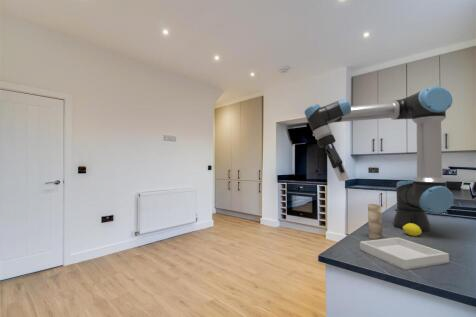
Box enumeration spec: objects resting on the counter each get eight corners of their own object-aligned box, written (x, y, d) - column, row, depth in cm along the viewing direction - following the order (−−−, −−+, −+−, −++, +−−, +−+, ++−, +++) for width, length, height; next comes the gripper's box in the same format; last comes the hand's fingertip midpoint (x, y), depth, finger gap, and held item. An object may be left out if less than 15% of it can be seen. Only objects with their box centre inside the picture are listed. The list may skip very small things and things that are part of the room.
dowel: (375, 235, 107) (374, 203, 108) (384, 239, 102) (384, 205, 103) (366, 236, 106) (365, 204, 106) (375, 240, 101) (374, 206, 101)
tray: (398, 245, 95) (397, 237, 95) (449, 263, 77) (448, 253, 78) (359, 249, 90) (359, 241, 90) (405, 270, 73) (404, 260, 73)
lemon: (421, 236, 107) (423, 224, 107) (420, 239, 103) (422, 227, 103) (402, 231, 112) (404, 220, 111) (400, 234, 108) (402, 222, 107)
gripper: (315, 144, 124) (333, 183, 120) (316, 135, 100) (338, 183, 96) (330, 138, 122) (348, 177, 118) (334, 127, 98) (357, 176, 94)
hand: (344, 180), depth 107 cm, fingers open, 13 cm apart
